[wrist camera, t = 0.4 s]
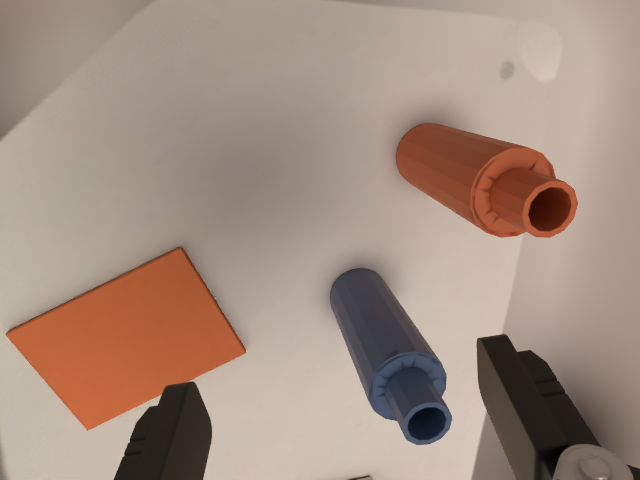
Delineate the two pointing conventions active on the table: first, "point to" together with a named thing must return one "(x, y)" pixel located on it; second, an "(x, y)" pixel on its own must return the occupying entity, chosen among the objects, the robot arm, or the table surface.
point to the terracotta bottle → (487, 181)
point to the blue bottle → (391, 356)
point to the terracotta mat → (129, 339)
